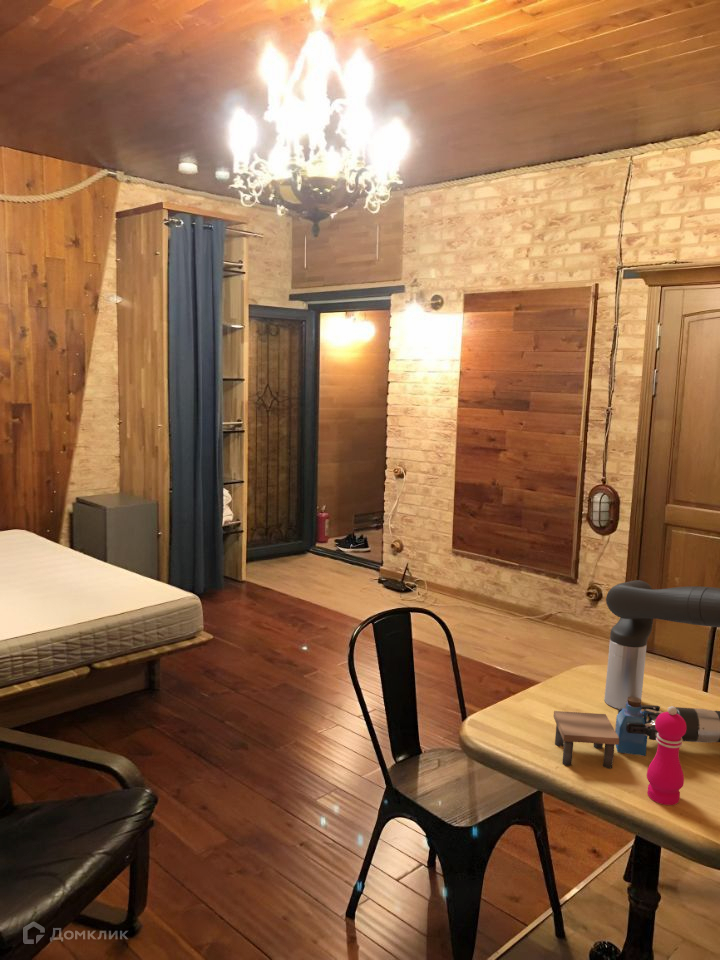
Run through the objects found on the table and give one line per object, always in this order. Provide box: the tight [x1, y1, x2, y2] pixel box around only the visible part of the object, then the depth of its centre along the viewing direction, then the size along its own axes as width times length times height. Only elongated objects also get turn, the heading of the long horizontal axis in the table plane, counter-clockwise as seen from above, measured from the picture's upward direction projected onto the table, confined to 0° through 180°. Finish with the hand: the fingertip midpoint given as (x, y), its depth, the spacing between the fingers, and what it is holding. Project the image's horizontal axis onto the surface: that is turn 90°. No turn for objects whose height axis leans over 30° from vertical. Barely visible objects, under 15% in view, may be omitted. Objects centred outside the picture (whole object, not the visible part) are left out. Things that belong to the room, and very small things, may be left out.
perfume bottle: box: [614, 697, 649, 756], centre depth 183 cm, size 6×6×12 cm
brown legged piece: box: [553, 710, 619, 770], centre depth 179 cm, size 12×12×8 cm
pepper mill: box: [646, 705, 686, 806], centre depth 162 cm, size 7×7×20 cm
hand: (622, 720), depth 183 cm, fingers closed on perfume bottle, 7 cm apart
